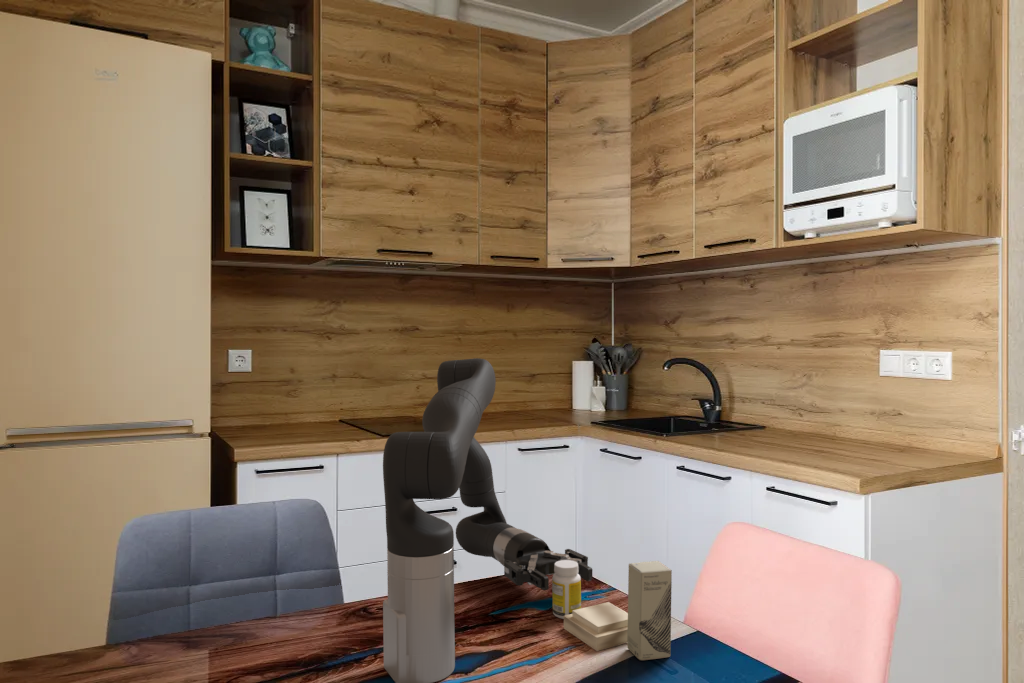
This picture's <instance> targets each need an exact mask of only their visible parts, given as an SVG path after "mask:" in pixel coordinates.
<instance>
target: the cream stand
mask: <svg viewBox="0 0 1024 683" xmlns="http://www.w3.org/2000/svg"><path fill="white" fill-rule="evenodd" d="M563 629H564V630H565V631H567V632H568V633H570V634H571V635H573V636H574V637H575V638H577V639H578V640H580V641H582V642H583V643H585V645H587V646H588V647H590V648H592V649H593V650H595V652H599V651H602V650H606V649H609V648H613V647H617V646H620V645H623V644H627V632H628V611H625V610H624V609H621V608H620V607H618V606H616V605H614V604H613V603H611V602H610V601H607V602H603V603H599V604H594V605H590V606H586V607H581V609H577V610H572V614H569V615H565V616H564V619H563Z"/></svg>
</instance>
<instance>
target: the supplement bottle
mask: <svg viewBox="0 0 1024 683" xmlns="http://www.w3.org/2000/svg"><path fill="white" fill-rule="evenodd" d="M578 571H579V570H578V563H577V562H575V561H571V560H561V561H557V562H555V564H554V572H555V574H552V577H551V578H552V579H551V580H552V581H551V585H552V586H551V587H552V588H551V590H552V595H551V597H552V598H551V599H552V613H553V615H554V616H555V617H556V618H559V619H562V620H564V616H565V615H569V614H572V610H577V609H581V608H582V578H581V577H580V575H579V574H578Z"/></svg>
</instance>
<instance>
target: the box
mask: <svg viewBox="0 0 1024 683" xmlns="http://www.w3.org/2000/svg"><path fill="white" fill-rule="evenodd" d="M672 573H673V572H672V569H671V568H669V567H667V565H665V564H663V563H662V562H661V561H659V560H655V561H640V562H631V563H630V562H629V563H628V584H627V585H628V586H627V587H628V590H627V591H628V592H627V593H628V595H627V613H628V632H627V643H626V646H627V649H628V650H629V651H630V652H631V653H632V654H633V655H634V656H635V657H636V658H637V659H638V660H639V661H648V660H650V661H651V660H656V659H664V658H670V657H671V651H672V650H671V646H672V645H671V644H672V643H671V642H672V639H671V638H672V637H671V636H672V635H671V634H672V586H673V585H672V583H673V582H672V580H673V579H672Z"/></svg>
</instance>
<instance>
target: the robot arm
mask: <svg viewBox="0 0 1024 683" xmlns="http://www.w3.org/2000/svg"><path fill="white" fill-rule="evenodd" d="M438 366H439V367H438V370H437V376H436V377H437V379H436V383H437V392H436V393H435V394H434V395H433V396H432V397H431V399H430V401H429V402H428V403H427V405H426V407H425V410H424V411H423V414H422V421H421V422H422V428H423V431H396V432H393V433H392V434H390V435H389V436H388V438H387V439H386V443H385V444H384V449H383V456H382V476H383V491H384V504H385V505H384V506H385V532H386V551H387V552H386V554H387V555H386V557H387V560H386V561H387V562H386V564H387V569H386V570H387V572H386V573H387V575H386V576H387V599H384V600H383V601H382V619H383V620H382V623H383V625H382V627H383V628H382V630H383V634H382V635H383V641H382V642H383V643H382V644H383V668H384V669H385V671H386V672H387V673H388V675H389V676H390V677H391V679H392V680H393V681H394V683H435V682H439V681H441V680H444V679H446V678H448V677H450V675H451V674H453V672H454V670H455V668H456V662H455V661H456V649H455V648H456V647H455V643H456V642H455V640H456V639H455V638H456V637H455V636H456V635H455V568H454V567H455V559H454V558H455V557H454V556H455V554H454V553H455V551H454V550H455V549H454V545H455V541H454V540H455V538H456V541H457V542H458V544H459V546H460V547H461V548H462V550H464V551H465V552H467V553H469V554H472V555H475V556H480V557H485V558H488V557H489V558H493V559H494V560H496V561H497V562H499V563H500V564H501V566H503V567H504V568H503V569H504V570H503V571H504V572H503V573H504V577H506V578H507V579H508V580H510V581H511V582H512V583H513V584H515V585H516V586H524V583H526V584H527V585H530V586H535V587H536V588H539V589H541V590H542V591H548V590H549V589H550V585H549V584H550V582H549V577H548V576H553V575H554V574H555V572H554V564H555V562H557V561H561V560H571V561H575V562H577V563H578V570H579V571H578V574H579V575H580V577H581V580H584V581H586V582H591V581H592V580H593V567H591V566H588V565H589V562H588V561H589V557H588V556H587V555H584V554H582V553H580V552H577V551H576V550H573V549H570V548H566V549H564V553H558V552H554V550H551V549H550V547H549V546H548V543H547V542H545V540H544V539H541V538H539V537H537V536H535V535H533V534H532V533H530V532H528V531H525V529H524V530H523V529H521V528H517V527H515V526H513V525H511V524H509V523H508V522H507V520H506V517H505V515H504V514H503V510H502V508H501V506H500V504H499V501H498V498H497V495H496V492H495V484H494V476H493V468H492V463H491V460H490V458H489V456H488V454H487V452H486V451H485V449H484V448H483V446H482V445H481V444H480V443H479V441H478V440H477V439H476V438H475V435H476V433H477V431H478V428H479V425H480V423H481V419H482V416H483V413H484V411H485V410H486V409H487V407H488V406H489V404H491V402H492V400H493V398H494V395H495V391H496V382H497V381H496V373H495V370H494V367H493V365H492V364H491V363H490V362H489V361H488V360H487V359H486V358H485V359H484V358H478V357H477V358H475V357H474V358H466V359H453V360H445V361H443V362H441V363H440V364H439V365H438ZM458 490H459V496H460V500H461V503H462V504H463V505H464V506H465V507H467V508H483V511H481V512H478V513H475V514H474V513H473V514H472V515H469V516H466V517H463V518H462V519H460V521H459V522H458V523H457V525H456V528H455V534H454V529H453V526H452V525H451V524H450V523H449V522H448V521H446V520H444V519H442V518H440V517H437V516H434V515H432V514H430V513H428V512H426V511H425V510H423V509H422V508H420V506H418V505H417V503H416V502H415V501H414V500H445V499H448V498H452V497H453V496H454V495H456V493H457V492H458ZM454 536H455V537H454ZM547 575H548V576H547Z"/></svg>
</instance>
